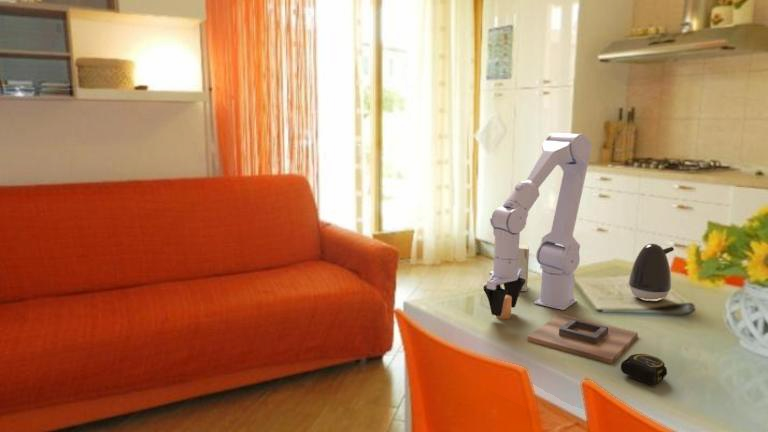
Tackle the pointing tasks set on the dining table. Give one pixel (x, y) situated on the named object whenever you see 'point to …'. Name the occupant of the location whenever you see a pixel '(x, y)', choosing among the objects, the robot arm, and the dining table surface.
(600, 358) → the socket
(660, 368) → the tape measure
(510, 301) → the peg
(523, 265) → the skincare box
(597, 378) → the dining table surface
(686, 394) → the dining table surface
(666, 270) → the pump dispenser
